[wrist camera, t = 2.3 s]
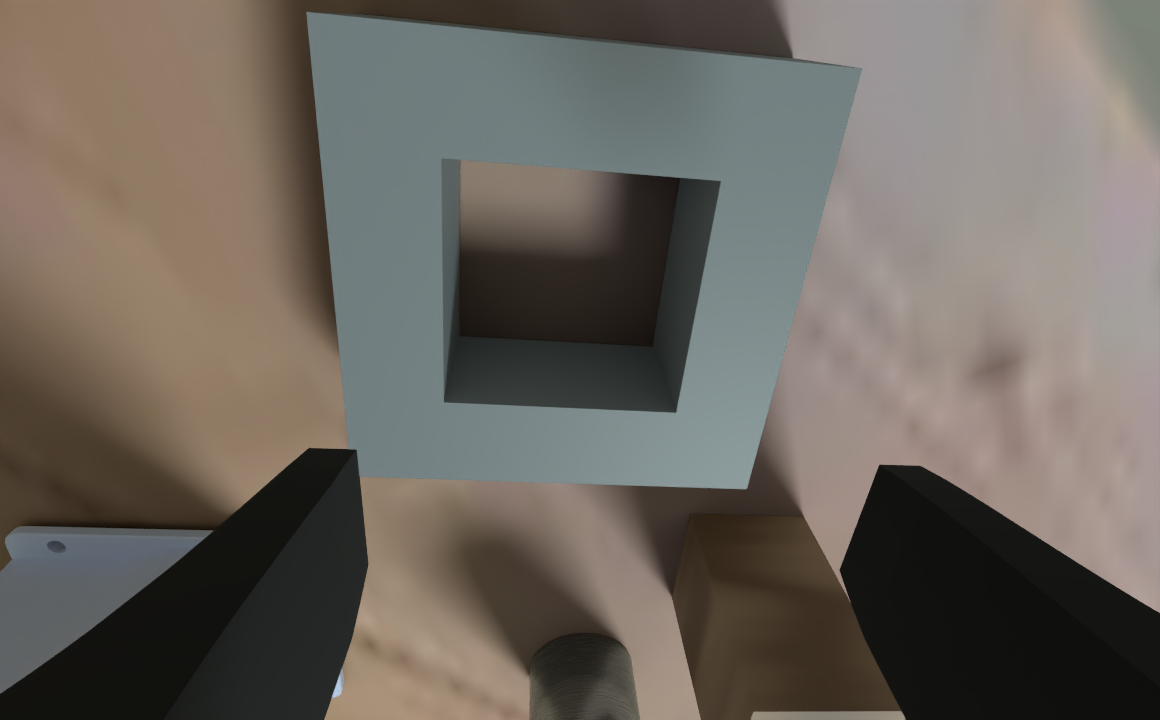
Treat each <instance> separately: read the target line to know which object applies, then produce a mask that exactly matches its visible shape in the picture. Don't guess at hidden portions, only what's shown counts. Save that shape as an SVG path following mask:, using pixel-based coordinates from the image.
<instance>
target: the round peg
mask: <svg viewBox="0 0 1160 720" xmlns="http://www.w3.org/2000/svg"><path fill="white" fill-rule="evenodd" d="M529 720H640V716H639V709H638V702H637V696H636V689H635V682H634V676H633V669H632V662H631V657H630V655H629V653H628V651H627V650H626V648H625V647H624V646H623V645H621V644H620V643H619V642H617V641H616V640H614V639H612V638H609V637H606V636H603V635H599V634H591V633H578V634H571V635H566V636H563V637H560V638H557V639H555V640H552V641H551V642H549V643H547V644H546V645H544V646H543V647H542V648H541V649H539V650H538V652H537V653H536V654H535V655H534V657H533V659H532V661H531V664H530V719H529Z"/></svg>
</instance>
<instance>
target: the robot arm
mask: <svg viewBox="0 0 1160 720" xmlns="http://www.w3.org/2000/svg"><path fill="white" fill-rule="evenodd" d="M5 545H6V547H7V549H8V552H9V554H10V556H11V558H12V560H11V561H10V562H9V563H8V564H7V565H6V566H5V567H4V568H3V569H2V570H1V571H0V720H324V718H325V716H326V713H327V710H328V707H329V704H330V701H331V698H334V697H336V696H339V695H340V694H341V692H342V689H343V685H344V677H343V669H342V666H343V663H344V660H345V657H346V654H347V651H348V648H349V645H350V642H351V639H352V636H353V632H354V627H355V623H356V619H357V614H358V610H359V606H360V601H361V596H362V592H363V587H364V582H365V578H366V573H367V568H368V556H367V546H366V536H365V526H364V516H363V506H362V496H361V486H360V476H359V466H358V456H357V450H355V449H321V448H309V449H307V450H306V451H305V452H304V453H303V454H301V455H300V456H299V457H298V458H297V459H296V460H294V461H293V462H292V463H291V464H290V465H288V466H287V467H286V468H285V469H284V470H283V471H282V472H280V473H279V474H278V475H277V476H276V477H275V478H274V479H272V480H271V481H270V482H269V483H268V484H267V485H266V486H264V487H263V488H262V489H261V490H260V491H259V492H258V493H257V494H255V495H254V496H253V497H252V498H251V499H250V500H249V501H247V502H246V503H245V504H244V505H243V506H242V507H241V508H239V509H238V510H237V511H236V512H235V513H234V514H233V515H231V516H230V517H229V518H228V519H227V520H226V521H225V522H223V523H222V524H221V525H220V526H219V527H217V528H216V529H215V530H214V531H210V530H169V529H127V528H85V527H44V526H21V527H17V528H15V529H14V530H13V531H12V532H11V533H10V534H9V535H8V536H7V537H6V539H5ZM840 573H841V576H842V579H843V582H844V584H845V587H846V590H847V593H848V596H849V599H850V602H851V605H852V608H853V610H854V613H855V615H856V618H857V621H858V623H859V626H860V628H861V631H862V633H863V636H864V639H865V641H866V643H867V645H868V647H869V649H870V651H871V653H872V655H873V657H874V659H875V661H876V663H877V665H878V667H879V669H880V670H881V672H882V674H883V676H884V678H885V680H886V682H887V684H888V686H889V688H890V690H891V692H892V694H893V696H894V698H895V700H896V702H897V704H898V705H899V707H900V709H901V711H902V713H903V715H904V717H905V719H906V720H1160V613H1159V612H1157V611H1155V610H1153V609H1152V608H1150V607H1148V606H1147V605H1145V604H1143V603H1142V602H1140V601H1138V600H1137V599H1135V598H1133V597H1132V596H1130V595H1129V594H1127V593H1125V592H1124V591H1122V590H1120V589H1119V588H1117V587H1115V586H1114V585H1112V584H1111V583H1109V582H1107V581H1106V580H1104V579H1102V578H1101V577H1099V576H1098V575H1096V574H1094V573H1093V572H1091V571H1090V570H1088V569H1086V568H1085V567H1083V566H1082V565H1080V564H1079V563H1077V562H1075V561H1074V560H1072V559H1071V558H1069V557H1068V556H1066V555H1064V554H1063V553H1061V552H1060V551H1058V550H1056V549H1055V548H1053V547H1052V546H1050V545H1049V544H1047V543H1045V542H1044V541H1042V540H1041V539H1039V538H1038V537H1036V536H1035V535H1033V534H1031V533H1030V532H1028V531H1027V530H1025V529H1024V528H1022V527H1020V526H1019V525H1017V524H1016V523H1014V522H1013V521H1011V520H1010V519H1008V518H1006V517H1005V516H1003V515H1002V514H1000V513H999V512H997V511H995V510H994V509H992V508H991V507H989V506H988V505H986V504H984V503H983V502H981V501H980V500H978V499H976V498H975V497H973V496H972V495H970V494H968V493H967V492H965V491H963V490H962V489H960V488H959V487H957V486H955V485H954V484H952V483H950V482H949V481H947V480H945V479H943V478H942V477H940V476H938V475H936V474H934V473H933V472H931V471H929V470H927V469H925V468H923V467H921V466H904V465H879V467H878V470H877V472H876V475H875V478H874V480H873V483H872V486H871V488H870V491H869V494H868V496H867V499H866V502H865V504H864V507H863V510H862V512H861V515H860V517H859V520H858V523H857V525H856V528H855V531H854V533H853V536H852V539H851V541H850V544H849V547H848V549H847V552H846V555H845V557H844V560H843V562H842V565H841V568H840Z"/></svg>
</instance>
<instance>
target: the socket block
mask: <svg viewBox="0 0 1160 720" xmlns="http://www.w3.org/2000/svg"><path fill="white" fill-rule="evenodd" d="M306 14H307V24H308V35H309V45H310V55H311V66H312V76H313V86H314V97H315V107H316V117H317V128H318V138H319V148H320V159H321V169H322V179H323V190H324V200H325V211H326V221H327V231H328V242H329V252H330V262H331V273H332V283H333V293H334V304H335V314H336V324H337V335H338V345H339V355H340V366H341V376H342V386H343V397H344V407H345V417H346V428H347V438H348V448H349V449H355V450H357V456H358V466H359V476H360V477H386V478H417V479H448V480H478V481H509V482H539V483H570V484H601V485H631V486H662V487H692V488H723V489H747V487H748V483H749V479H750V476H751V472H752V469H753V465H754V461H755V458H756V454H757V450H758V447H759V443H760V439H761V436H762V432H763V428H764V425H765V421H766V417H767V414H768V410H769V406H770V403H771V399H772V396H773V392H774V388H775V385H776V381H777V377H778V374H779V370H780V366H781V363H782V359H783V355H784V352H785V348H786V344H787V341H788V337H789V333H790V330H791V326H792V323H793V319H794V315H795V312H796V308H797V304H798V301H799V297H800V293H801V290H802V286H803V282H804V279H805V275H806V271H807V268H808V264H809V260H810V257H811V253H812V249H813V246H814V242H815V239H816V235H817V231H818V228H819V224H820V220H821V217H822V213H823V209H824V206H825V202H826V198H827V195H828V191H829V187H830V184H831V180H832V176H833V173H834V169H835V166H836V162H837V158H838V155H839V151H840V147H841V144H842V140H843V136H844V133H845V129H846V125H847V122H848V118H849V114H850V111H851V107H852V103H853V100H854V96H855V93H856V89H857V85H858V82H859V78H860V74H861V71H862V69H861V68H855V67H848V66H841V65H835V64H828V63H821V62H814V61H808V60H801V59H794V58H784V57H775V56H765V55H755V54H745V53H736V52H726V51H716V50H707V49H697V48H687V47H677V46H668V45H658V44H648V43H638V42H629V41H619V40H609V39H599V38H590V37H580V36H570V35H560V34H551V33H541V32H531V31H521V30H512V29H502V28H492V27H482V26H473V25H463V24H453V23H443V22H434V21H424V20H414V19H404V18H395V17H385V16H375V15H365V14H353V13H325V12H306ZM460 160H470V161H482V162H494V163H506V164H519V165H531V166H543V167H555V168H568V169H580V170H592V171H604V172H616V173H629V174H641V175H653V176H665V177H678V178H680V181H679V187H678V194H677V200H676V206H675V212H674V218H673V224H672V230H671V236H670V242H669V249H668V255H667V261H666V267H665V273H664V279H663V285H662V291H661V298H660V304H659V310H658V316H657V322H656V328H655V334H654V340H653V347H650V346H632V345H614V344H595V343H577V342H559V341H541V340H522V339H504V338H486V337H467V336H460Z"/></svg>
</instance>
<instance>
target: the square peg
mask: <svg viewBox="0 0 1160 720" xmlns="http://www.w3.org/2000/svg"><path fill="white" fill-rule="evenodd" d="M672 600H673V604H674V608H675V612H676V616H677V621H678V625H679V629H680V633H681V637H682V642H683V646H684V650H685V654H686V658H687V663H688V667H689V671H690V675H691V679H692V684H693V688H694V692H695V696H696V700H697V705H698V709H699V713H700V717H701V720H905V717H904V715H903V713H902V711H901V709H900V707H899V705H898V704H897V702H896V700H895V698H894V696H893V694H892V692H891V690H890V688H889V686H888V684H887V682H886V680H885V678H884V676H883V674H882V672H881V670H880V669H879V667H878V665H877V663H876V661H875V659H874V657H873V655H872V653H871V651H870V649H869V647H868V645H867V643H866V641H865V639H864V636H863V633H862V631H861V628H860V626H859V623H858V621H857V618H856V615H855V613H854V610H853V608H852V605H851V603H850V601H849V599H848V597H847V595H846V594H845V592H844V590H843V588H842V586H841V584H840V583H839V581H838V579H837V577H836V575H835V573H834V571H833V570H832V568H831V566H830V564H829V562H828V560H827V559H826V557H825V555H824V553H823V551H822V549H821V548H820V546H819V544H818V542H817V540H816V538H815V536H814V535H813V533H812V531H811V529H810V527H809V525H808V524H807V522H806V520H805V518H804V517H795V516H759V515H724V514H690V519H689V523H688V527H687V532H686V536H685V541H684V545H683V550H682V554H681V558H680V563H679V567H678V572H677V576H676V581H675V585H674V589H673V594H672Z"/></svg>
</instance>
